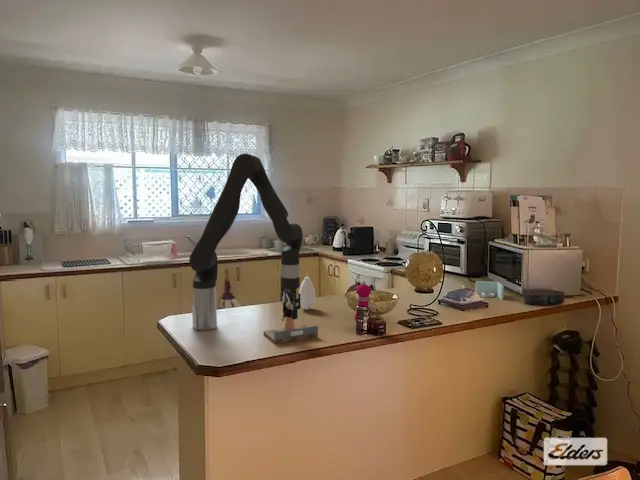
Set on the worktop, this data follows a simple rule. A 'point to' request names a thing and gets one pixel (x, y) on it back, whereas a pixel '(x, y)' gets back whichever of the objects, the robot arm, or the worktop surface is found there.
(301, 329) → the price rail
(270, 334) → the shelf board
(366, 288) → the pepper mill
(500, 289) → the l-shaped corner panel
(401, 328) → the worktop surface
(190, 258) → the robot arm
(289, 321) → the grandmother figurine
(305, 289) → the sauce bottle
